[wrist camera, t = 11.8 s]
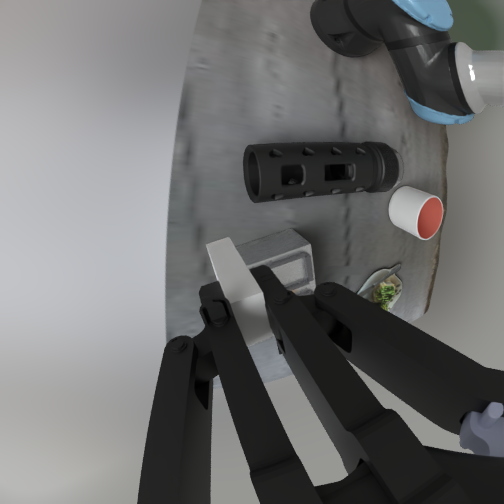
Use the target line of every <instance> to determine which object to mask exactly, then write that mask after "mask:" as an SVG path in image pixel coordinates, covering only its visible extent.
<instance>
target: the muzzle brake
mask: <svg viewBox="0 0 504 504" xmlns="http://www.w3.org/2000/svg"><path fill="white" fill-rule="evenodd" d="M243 169H244V180H245V185H246V189H247V193H248V195H249V197H250V199H251V200H252V202H254V203H260V202H268V201H276V200H284V199H293V198H302V197H311V196H321V195H332V194H343V193H354V192H363V191H366V192H369V193H374V192H386V191H389V190H390V189H392V188H393V187H395V186H397V185H398V184H399V183H400V182H401V180H402V177H403V173H404V166H403V161H402V158H401V156H400V154H399V153H398V152H397V151H396V150H395V149H393V148H391V147H390V146H388V145H387V144H385V143H381V142H364V143H362V144H360V143H344V142H323V143H322V142H303V143H274V144H256V145H248V146H247V147H246V149H245V152H244V158H243ZM290 180H292V181H293V182H295V184H289V183H288V182H289V181H290ZM259 185H260V186H259Z"/></svg>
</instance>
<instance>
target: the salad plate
mask: <svg viewBox="0 0 504 504" xmlns="http://www.w3.org/2000/svg"><path fill="white" fill-rule="evenodd" d="M400 269H401V265H400V264H398V265H396V266H395V267H393V268H391V269H382V270H379V271H376V272H374V273H373V274H372V275H371V276H370V277H369V278H368V279H367V280H366V282H365V283H364V284H363V286H362V287H361V288H360V289H359V290H358V291H357V293H356V294H358V295H360V296H361V297H363V298H365V299H367V300H369V301H370V302H372V303H374V304H376V305H377V306H379V307H381V308H383V309H385V310H386V311H389V310H390V309H391V307H392V306H393V305H394V304H395V302H396V301H397V300H398V298H399V297H400V294H401V291H402V282H401V281H400V280H399V278H398V277H397V276H396V275H395V273H396V272H397V271H399V270H400ZM385 303H386V304H385Z"/></svg>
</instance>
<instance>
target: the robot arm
mask: <svg viewBox="0 0 504 504" xmlns="http://www.w3.org/2000/svg"><path fill="white" fill-rule="evenodd" d="M310 16H311V22H312V25H313V28H314V30H315V31H316V33H317V35H318V36H319V38H320V39H321V40H322V41H323V42H324V43H325V44H326V45H327V46H328V47H329V48H331V49H332V50H334V51H335V52H337V53H339V54H341V55H344V56H348V57H359V56H363V55H367V54H369V53H371V52H372V51H373V50H375V49H376V48H377V47H378V46H379V45H380V44H381V43H383V42H385V44H386V46H387V49H388V51H389V53H390V55H391V57H392V60H393V62H394V64H395V66H396V69H397V71H398V74H399V76H400V78H401V81H402V84H403V86H404V92H405V95H406V96H407V98H408V99H409V102H410V104H411V107H412V109H413V111H414V112H415V113H416V114H417V115H418V116H419V117H420V118H422V119H424V120H426V121H429V122H432V123H437V124H444V125H453V124H454V123H457V124H464V123H467V122H469V121H471V120H472V119H473V117H474V114H479V113H481V112H482V111H483V109H484V108H485V107H486V106H487V105H493V106H502V107H504V51H474V50H472V49H471V48H469V47H468V46H467V45H466V44H465V43H462V42H455V43H452V41H451V38H450V36H449V34H448V32H447V30H449V29H450V28H451V27H452V25H453V18H452V17H451V16H452V12H451V9H450V7H449V5H448V3H447V1H446V0H315V2H314V3H313V5H312V7H311V12H310ZM206 247H207V250H208V253H209V256H210V259H211V262H212V265H213V268H214V271H215V274H216V277H217V280H218V281H216V282H213V283H210V284H207V285H204V286H201V288H200V291H199V296H200V299H201V304H202V305H201V307H200V311H199V312H200V314H201V317H202V319H203V321H204V324H205V328H204V329H203V331H202V332H201V333H200V334H198V335H197V336H195V337H193V338H191V337H189V336H178V337H175V338H173V339H171V340H170V341H169V342H168V343H167V344H166V347H165V349H164V353H163V358H162V363H161V367H160V372H159V376H158V381H157V386H156V390H155V395H154V400H153V405H152V410H151V416H150V421H149V427H148V432H147V438H146V444H145V451H144V457H143V463H142V470H141V478H140V485H139V493H138V502H137V504H210V486H211V485H210V482H211V476H210V475H211V429H212V428H211V427H212V400H213V378H214V377H216V376H217V375H219V377H220V380H221V383H222V387H223V390H224V393H225V396H226V400H227V403H228V406H229V410H230V413H231V416H232V419H233V422H234V425H235V428H236V431H237V434H238V436H239V440H240V443H241V446H242V448H243V451H244V454H245V457H246V460H247V462H248V465H249V468H250V477H251V481H252V483H253V486H254V489H255V491H256V494H257V497H258V499H259V502H260V504H504V371H501V370H496V369H491V368H486V367H484V366H482V365H480V364H478V363H477V362H475V361H474V360H472V359H470V358H468V357H467V356H465V355H463V354H461V353H460V352H458V351H456V350H455V349H453V348H451V347H449V346H448V345H446V344H444V343H443V342H441V341H439V340H437V339H436V338H434V337H432V336H430V335H429V334H427V333H425V332H423V331H422V330H420V329H418V328H416V327H415V326H413V325H411V324H409V323H408V322H406V321H404V320H402V319H401V318H399V317H397V316H395V315H393V314H392V313H390V312H388V311H386V310H385V309H383V308H381V307H379V306H377V305H376V304H374V303H372V302H370V301H369V300H367V299H365V298H363V297H361V296H360V295H358V294H356V293H354V292H352V291H351V290H349V289H347V288H345V287H343V286H342V285H340V284H337V283H335V282H326V283H322V284H320V285H318V286H317V287H316V288H315V290H314V294H311V295H304V296H298V295H296V294H295V293H294V292H292V291H290V290H287V289H286V288H285V287H284V285H283V284H282V283H281V282H280V280H279V279H278V278H277V276H276V275H275V274H274V272H273V271H272V270H271V268H270V267H267V266H265V265H260V266H258V267H255V268H252V269H248V267H247V266H246V264H245V263H244V261H243V259H242V258H241V256H240V254H239V253H238V251H237V249H236V248H235V246H234V244H233V243H232V241H231V240H230V238H229V237H227V238H224V239H221V240H218V241H215V242H212V243H209V244H206ZM272 331H273V333H274V335H275V337H276V341H277V346H278V350H279V354H283V356H284V357H285V359H286V361H287V363H288V365H289V366H290V368H291V370H292V372H293V374H294V375H295V377H296V379H297V381H298V383H299V384H300V386H301V388H302V390H303V391H304V393H305V395H306V397H307V399H308V400H309V402H310V404H311V405H312V407H313V409H314V411H315V413H316V414H317V416H318V418H319V420H320V421H321V423H322V425H323V427H324V428H325V430H326V432H327V433H328V435H329V437H330V439H331V440H332V442H333V443H334V446H335V447H336V449H337V451H338V452H339V454H340V456H341V458H342V461H343V463H344V466H345V469H346V471H347V473H348V476H347V477H346V478H344V479H343V480H341V481H338V482H334V483H329V484H325V485H320V486H315V487H314V486H313V484H312V482H311V480H310V478H309V476H308V474H307V472H306V470H305V468H304V466H303V464H302V462H301V460H300V459H299V457H298V456H297V454H296V452H295V450H294V448H293V446H292V444H291V442H290V440H289V438H288V436H287V434H286V432H285V430H284V428H283V425H282V423H281V421H280V419H279V417H278V415H277V412H276V410H275V408H274V406H273V404H272V402H271V399H270V397H269V395H268V393H267V391H266V388H265V386H264V384H263V382H262V379H261V377H260V375H259V373H258V370H257V368H256V366H255V364H254V361H253V359H252V357H251V354H250V352H249V350H248V346H250V345H253V344H256V343H259V342H261V341H264V340H267V339H269V338H272V337H273V333H272ZM347 360H348V361H350V362H351V363H352V364H354V365H355V366H356V367H358V368H359V369H361V370H362V371H363V372H365V373H366V374H367V375H368V376H370V377H371V378H372V379H374V380H375V381H376V382H378V383H379V384H380V385H382V386H383V387H385V388H386V389H387V390H388V391H390V392H391V393H393V394H394V395H395V396H397V397H398V398H399V399H401V400H402V401H404V402H405V403H406V404H408V405H409V406H411V407H412V408H413V409H415V410H416V411H417V412H419V413H420V414H422V415H423V416H424V417H426V418H427V419H429V420H430V421H432V422H433V423H435V424H436V425H438V426H439V427H441V428H443V429H445V430H447V431H449V432H451V433H454V434H457V435H460V446H461V447H462V448H464V449H470V450H472V451H473V452H474V454H467V453H462V452H455V451H450V450H444V449H439V448H434V447H429V446H423V445H422V444H421V442H420V441H419V440H418V438H417V437H416V436H415V435H414V433H413V432H412V431H411V429H410V428H409V427H408V426H407V424H406V423H405V422H404V420H403V419H402V418H401V417H400V415H399V414H398V413H397V412H396V411H394V410H392V409H385V408H384V407H383V406H382V405H381V404H380V402H379V401H378V400H377V399H376V397H375V396H374V395H373V393H372V392H371V391H370V389H369V388H368V387H367V385H366V384H365V383H364V382H363V380H362V379H361V378H360V376H359V375H358V374H357V372H356V371H355V370H354V369H353V367H352V366H351V365H350V363H349V362H348V361H347Z"/></svg>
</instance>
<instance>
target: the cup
mask: <svg viewBox="0 0 504 504" xmlns="http://www.w3.org/2000/svg"><path fill="white" fill-rule="evenodd" d="M389 217H390V219H391V221H392V223H393V224H394V225H396V226H397V227H399V228H401V229H403V230H405V231H407V232H409V233H411V234H413V235H414V236H416V237H418V238H420V239H422V240H428V239H430V238H431V237H433V236H434V235H435V233H436V232H437V231H438V229H439V227H440V225H441V222H442V218H443V205H442V202H441V200H440V199H439V198H438V197H437V196H434V195H432V194H429V193H426V192H423V191H421V190H418V189H415V188H412V187H409V186H403V187H401V188H399V189H397V190H396V191H395V192H394V194H393V195H392V197H391V199H390V202H389Z"/></svg>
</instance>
